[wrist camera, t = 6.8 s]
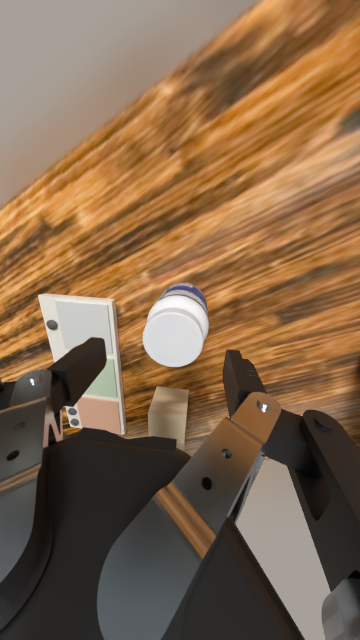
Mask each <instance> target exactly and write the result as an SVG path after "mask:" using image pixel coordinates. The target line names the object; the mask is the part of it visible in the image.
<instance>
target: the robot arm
mask: <svg viewBox="0 0 360 640" xmlns="http://www.w3.org/2000/svg"><path fill="white" fill-rule="evenodd" d="M106 362H107V356H106V347H105V340H104V339H103V338H97V337H90V338H89V339H88V340H87V341H85V342H84V343H83V344H80V345H78V346H76V347H74V348H73V349H71V350H70V351H69V352H68V353H66V354H65V355H64V356H63V357H61V358H60V359H59V360H58V361H56V362H55V363H54V364H52V365H51V366H50V367H49V368H47V369H40V370H35V371H32V372H29V373H27V374H25V375H23V376H21V377H20V378H19V379H18V380H17V381H13V382H4V383H2V381H1V379H0V640H305V639H304V638H303V636H302V634H301V632H300V631H299V629H298V627H297V626H296V624H295V622H294V621H293V619H292V618H291V616H290V614H289V612H288V611H287V609H286V607H285V606H284V604H283V602H282V601H281V599H280V598H279V596H278V594H277V593H276V591H275V589H274V588H273V586H272V585H271V583H270V581H269V580H268V578H267V576H266V574H265V573H264V571H263V569H262V568H261V566H260V565H259V563H258V561H257V559H256V558H255V556H254V555H253V553H252V551H251V550H250V548H249V547H248V545H247V543H246V541H245V540H244V538H243V536H242V535H241V533H240V531H239V530H238V528H237V527H236V525H235V524H236V522H237V519H238V517H239V515H240V513H241V510H242V508H243V506H244V504H245V501H246V499H247V496H248V493H249V491H250V489H251V487H252V484H253V482H254V480H255V478H256V476H257V474H258V472H259V469H260V467H261V465H262V463H263V461H264V459H265V457H266V456H267V457H269V458H271V459H273V460H275V461H278V462H280V463H282V464H285V465H287V467H288V470H289V473H290V476H291V479H292V481H293V484H294V487H295V490H296V493H297V496H298V499H299V502H300V504H301V507H302V510H303V513H304V516H305V519H306V522H307V524H308V527H309V530H310V533H311V536H312V539H313V542H314V544H315V547H316V550H317V553H318V556H319V558H320V562H321V565H322V567H323V570H324V573H325V576H326V579H327V582H328V584H329V588H330V590H331V593H330V594H329V595H328V596H327V597H326V598H325V600H324V602H323V605H322V624H323V629H324V633H325V639H326V640H360V450H359V449H358V447H357V446H356V445H355V443H354V442H353V441H352V439H351V438H350V437H349V435H348V434H347V433H346V431H345V430H344V428H343V427H342V426H341V425H340V424H339V423H338V422H337V421H336V420H335V419H333V418H332V417H331V416H329V415H327V414H325V413H323V412H320V411H317V410H307V411H305V412H304V414H303V416H300V415H297V414H294V413H291V412H288V411H286V410H284V409H281V406H280V404H279V403H278V402H277V400H275V399H274V398H273V397H272V396H270V395H268V394H267V393H266V390H265V388H264V386H263V384H262V382H261V380H260V377H259V375H258V373H257V372H256V369H255V367H254V365H253V364H252V363H251V362H250V361H249V360H248V359H242V356H241V353H240V351H238V350H227V351H226V355H225V361H224V367H223V383H224V389H225V394H226V400H227V405H228V411H229V416H230V419H229V418H228V417H225V418H224V419H223V420H222V421H221V422H220V424H219V425H218V426H217V427H216V428H215V430H214V431H213V432H212V433H211V434H210V436H209V437H208V438H207V439H206V440H205V442H204V443H203V444H202V445H201V446H200V448H199V449H198V450H197V451H196V452H195V454H194V455H193V456H192V457H191V456H189V455H188V454H187V453H185V452H184V451H182V450H180V449H178V448H176V445H177V439H172V438H164V437H156V436H150V437H142V438H134V439H125V438H122V437H120V436H118V435H116V434H113V433H111V432H109V431H107V430H101V429H94V428H86V427H83V428H82V430H81V431H80V433H79V434H78V436H73V437H69V438H66V439H63V435H62V411H61V409H62V408H63V406H69V407H74V406H75V404H76V403H77V402H78V400H79V399H80V398H81V397H82V395H83V394H84V393H85V392H86V390H87V389H88V388H89V387H90V385H91V384H92V383H93V381H94V380H95V379H96V378H97V376H98V375H99V374H100V373H101V371H102V370H103V369H104V367H105V366H106Z"/></svg>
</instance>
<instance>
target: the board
mask: <svg viewBox="0 0 360 640" xmlns="http://www.w3.org/2000/svg"><path fill="white" fill-rule="evenodd" d="M38 298H39V302H40V306H41V310H42V314H43V318H44V322H45V326H46V330H47V334H48V338H49V342H50V346H51V350H52V354H53V358H54V362H56V361H58V360H59V359H60V358H61V357H63V356H64V355H65V354H66V353H68V352H69V351H70V350H71V349H73V348H74V347H76V346H78V345H80V344H83V343H84V342H85V341H87V340H88V339H89V338H90V337H97V338H103V339H104V340H105V347H106V356H107V362H106V366H105V367H104V369H103V370H102V371H101V373H100V374H99V375H98V376H97V378H96V379H95V380H94V381H93V383H92V384H91V385H90V387H89V388H88V389H87V390H86V392H85V393H84V394H83V395H82V397H81V398H80V399H79V400H78V402H77V403H76V404H75V406H74V407H69V406H65V407H66V411H67V415H68V419H69V423H70V427H76V428H83V427H86V428H94V429H101V430H107V431H109V432H111V433H117V434H125V432H126V430H127V428H126V416H125V405H124V394H123V382H122V371H121V359H120V348H119V337H118V325H117V314H116V302H115V299H106V298H93V297H80V296H68V295H55V294H41V295H38Z"/></svg>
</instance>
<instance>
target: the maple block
mask: <svg viewBox="0 0 360 640" xmlns="http://www.w3.org/2000/svg"><path fill="white" fill-rule="evenodd" d="M188 395H189V390H184V389H176V388H168V387H160V386H157V387H156V390H155V393H154V396H153V399H152V402H151V405H150V408H149V411H148V434H149V437H150V436H156V437H164V438H172V439H177V443H179V444H184V439H185V429H186V418H187V407H188Z"/></svg>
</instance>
